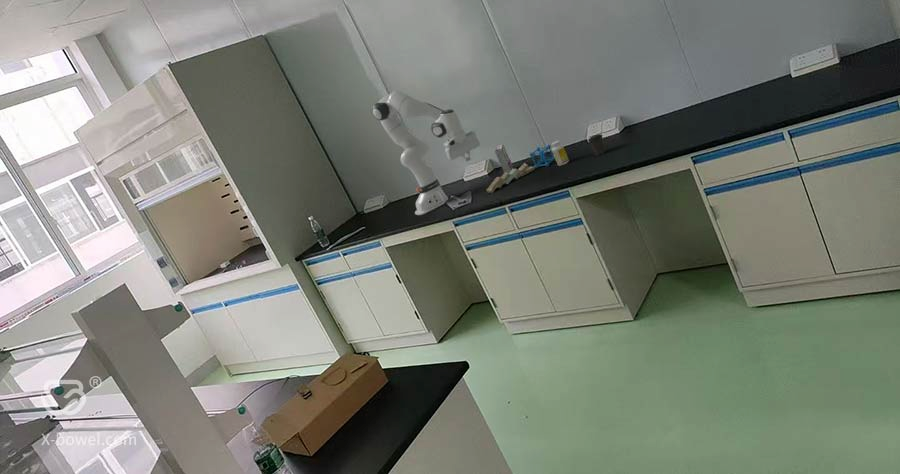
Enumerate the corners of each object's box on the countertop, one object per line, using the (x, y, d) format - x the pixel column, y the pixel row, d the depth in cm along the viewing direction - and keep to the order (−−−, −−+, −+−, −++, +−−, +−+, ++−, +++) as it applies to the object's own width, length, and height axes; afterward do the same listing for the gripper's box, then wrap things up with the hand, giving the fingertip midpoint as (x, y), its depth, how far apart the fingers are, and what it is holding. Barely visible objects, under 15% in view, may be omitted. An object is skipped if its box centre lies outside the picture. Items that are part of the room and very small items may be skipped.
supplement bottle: (570, 159, 354) (562, 138, 351) (566, 164, 349) (558, 142, 346) (560, 162, 358) (551, 141, 355) (556, 167, 353) (547, 146, 350)
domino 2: (497, 185, 363) (508, 172, 364) (494, 185, 367) (504, 172, 369) (500, 188, 363) (510, 175, 365) (496, 187, 368) (507, 174, 369)
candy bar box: (506, 170, 396) (496, 146, 392) (513, 167, 395) (503, 143, 390) (504, 175, 386) (494, 151, 382) (512, 172, 385) (502, 147, 380)
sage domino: (505, 181, 364) (516, 168, 365) (501, 181, 369) (512, 168, 370) (507, 184, 365) (518, 171, 366) (504, 183, 369) (515, 170, 370)
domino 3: (514, 177, 364) (526, 164, 363) (512, 175, 369) (524, 162, 368) (516, 179, 365) (529, 167, 364) (514, 177, 370) (526, 165, 369)
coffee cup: (609, 151, 336) (603, 134, 333) (595, 157, 337) (588, 140, 334) (606, 148, 344) (599, 131, 341) (592, 155, 345) (585, 138, 342)
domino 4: (520, 174, 366) (534, 166, 369) (516, 174, 371) (530, 166, 374) (521, 177, 367) (535, 169, 369) (517, 177, 371) (531, 169, 374)
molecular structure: (557, 159, 369) (550, 143, 366) (548, 166, 362) (541, 150, 360) (543, 162, 376) (537, 146, 373) (534, 169, 370) (528, 153, 367)
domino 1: (490, 190, 360) (500, 177, 363) (486, 190, 365) (496, 177, 367) (492, 192, 361) (502, 179, 363) (488, 192, 366) (498, 179, 368)
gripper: (471, 130, 358) (480, 152, 362) (441, 145, 352) (451, 168, 356) (476, 129, 352) (485, 152, 356) (445, 145, 346) (455, 168, 350)
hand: (468, 160), depth 356 cm, fingers closed
